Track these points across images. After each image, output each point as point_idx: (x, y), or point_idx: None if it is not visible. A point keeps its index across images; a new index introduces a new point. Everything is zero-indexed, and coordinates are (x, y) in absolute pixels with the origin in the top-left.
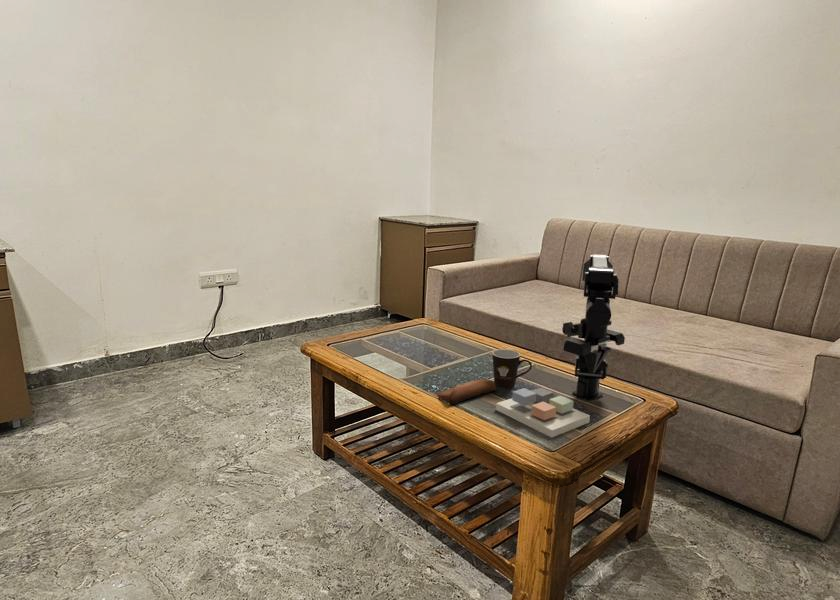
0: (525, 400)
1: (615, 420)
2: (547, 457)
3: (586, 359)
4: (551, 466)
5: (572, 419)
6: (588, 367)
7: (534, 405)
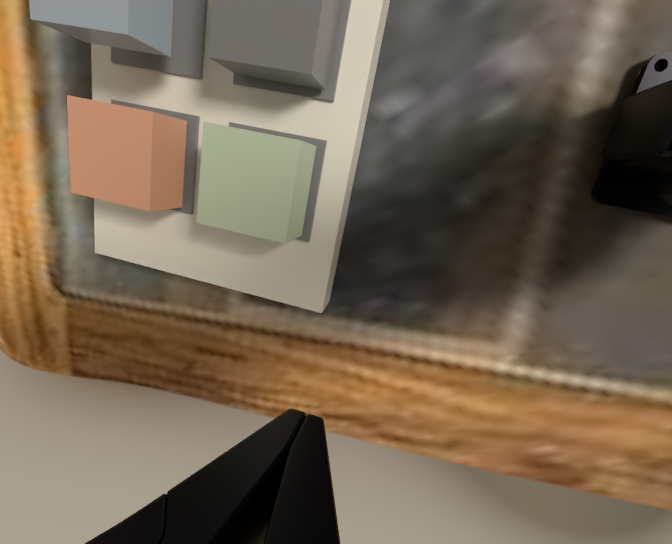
0: (62, 30)
1: (426, 376)
2: (25, 295)
3: (125, 533)
4: (3, 325)
5: (230, 270)
6: (249, 443)
7: (78, 108)
